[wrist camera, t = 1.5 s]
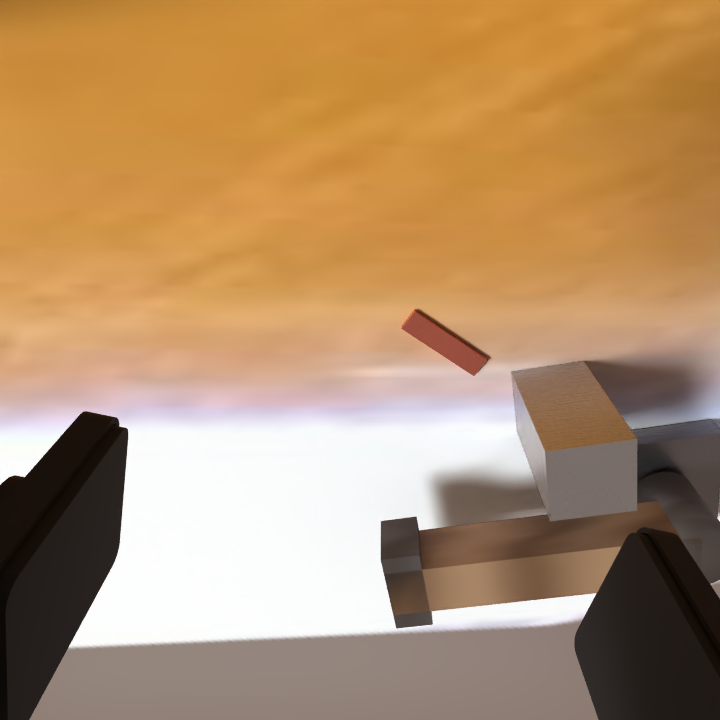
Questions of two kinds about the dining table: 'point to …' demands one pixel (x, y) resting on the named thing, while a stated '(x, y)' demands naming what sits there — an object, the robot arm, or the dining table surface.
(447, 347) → the stand
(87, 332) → the dining table surface
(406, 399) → the dining table surface
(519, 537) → the crank
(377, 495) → the dining table surface
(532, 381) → the block
